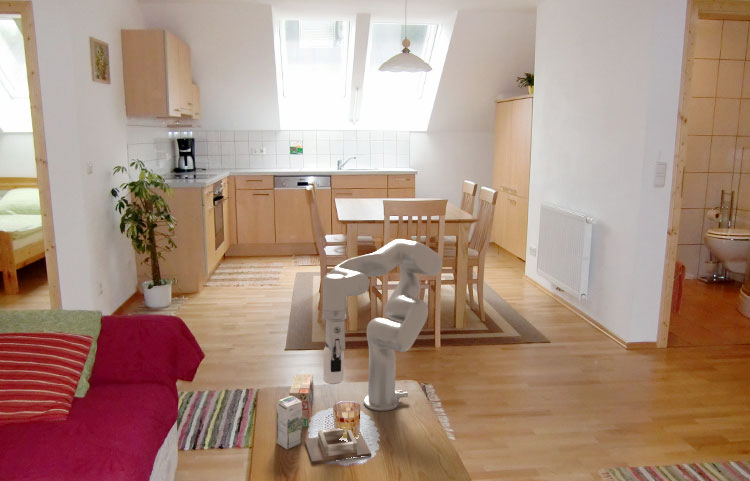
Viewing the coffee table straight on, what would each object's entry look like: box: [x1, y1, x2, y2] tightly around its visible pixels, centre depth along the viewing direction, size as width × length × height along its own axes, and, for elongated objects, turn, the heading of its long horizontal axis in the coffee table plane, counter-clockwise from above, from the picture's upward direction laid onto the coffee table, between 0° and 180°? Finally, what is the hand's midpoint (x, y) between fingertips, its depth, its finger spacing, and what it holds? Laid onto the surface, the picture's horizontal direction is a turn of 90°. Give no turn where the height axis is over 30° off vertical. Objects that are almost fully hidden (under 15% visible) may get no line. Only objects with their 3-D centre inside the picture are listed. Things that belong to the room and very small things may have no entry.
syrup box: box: [276, 395, 303, 451], centre depth 180 cm, size 6×6×14 cm
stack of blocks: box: [289, 373, 315, 428], centre depth 201 cm, size 21×6×12 cm, turn 1°
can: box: [322, 342, 345, 385], centre depth 186 cm, size 6×6×12 cm
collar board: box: [304, 427, 372, 465], centre depth 178 cm, size 18×13×4 cm
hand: (333, 366), depth 186 cm, fingers closed on can, 6 cm apart
